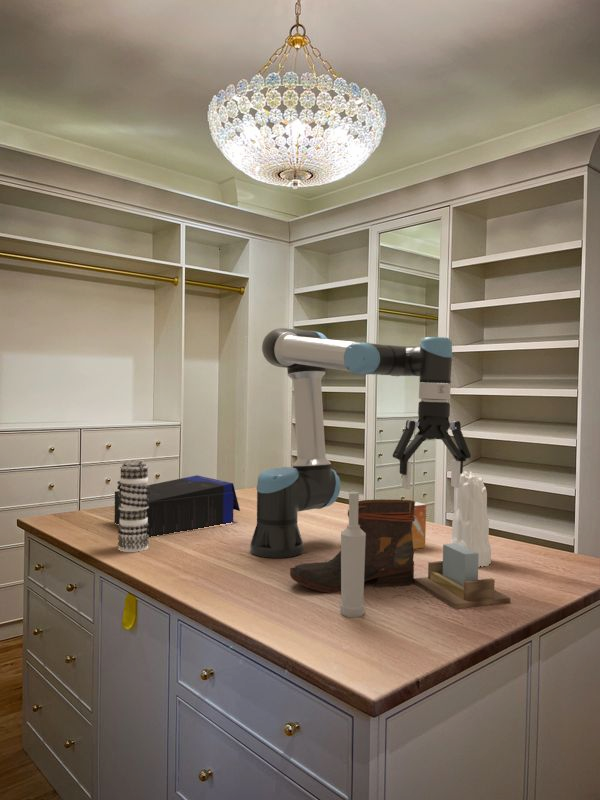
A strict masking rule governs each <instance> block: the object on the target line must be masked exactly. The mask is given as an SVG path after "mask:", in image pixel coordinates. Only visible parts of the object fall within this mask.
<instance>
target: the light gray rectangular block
mask: <svg viewBox="0 0 600 800" xmlns="http://www.w3.org/2000/svg"><path fill="white" fill-rule="evenodd" d="M442 550H443V551H442V561H443V576H444V577H446V578H448V579H450V580H452V581H454V582H455V583H457V584H459V585H461V586H463V587H464V581H471V580H479V567H478V553H477V552H474V551H472V550H470V549H468V548H465V547H463V546H461V545H459V544H456V543H455V544H450V543H447V544H446V543H445V544H444V543H443V546H442Z"/></svg>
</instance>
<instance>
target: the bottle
mask: <svg viewBox="0 0 600 800" xmlns="http://www.w3.org/2000/svg"><path fill="white" fill-rule="evenodd" d="M359 501H360V492H357V491H349V492H348V502H349V503H348V510H349V517H348V524H347V525H346V527H345V529H343V530H342V531H341V532H340V546H341V547H340V551H341V592H340V595H341V597H340V598H341V599H340V602H339V610H340V611H339V612H340V614H341V615H342V616H345V617H348V618H359V617H362V616H364V614H365V607H366V606H365V602H364V593H365V582H364V569H365V540H366V533H365V532H364V531H363V530H362V529H361V528H360V525H358V502H359Z"/></svg>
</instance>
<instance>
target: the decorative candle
mask: <svg viewBox="0 0 600 800" xmlns="http://www.w3.org/2000/svg"><path fill="white" fill-rule="evenodd" d="M119 468H120V477H119V481H117V484H118V485H117V490H118V491H120V492H119V493H118V496H119V498H118V502H119V503H121V504H120V505H119V509H120V524H119V525H117V528H119V529H118V531H117V533H118V534H119V535H118V537H117V540H118V543H117V546H118V551H119V550H120V552H122V551H123V553H138V551H139V552H143V550H144V551H146V550H148V549H149V542H150V540H149V539H150V538H149V535H148V534H147V532H149V529H148V528H147V527H148V526H149V523H148V517H147V508H149V504H148V503H147V502H148V501H149V500H150V499H149V498H148V497H147V494H150V492H149V491H147V489H150V486H147V485H148V483H149V477H148V468H149V465H147V464H146V462H145V461H144V460H129V461H125V462H124V463H122V465H121V466H119Z"/></svg>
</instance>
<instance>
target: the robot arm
mask: <svg viewBox="0 0 600 800" xmlns="http://www.w3.org/2000/svg"><path fill="white" fill-rule="evenodd" d="M261 351H262V355H263V357H264V359H265V360H266V362H268V363H269V364H270V365H273V366H275V367H279V368H284V369H285V368H286V369H287V370H286V371H287V376H288V377H289V378H290V379H291V381H292V386H293V403H294V404H293V405H294V422H295V439H296V441H295V442H296V458H297V459H296V460H295V461H294V463H293V464H292V467H291V466H290V467H289V466H283V467H282V466H281V467H274V468H269V469H265V470H263V471H261V472H260V473H259V474H258V476H257V483H256V484H257V485H256V492H257V493H256V526H255V528H254V532H253V535H252V538H251V541H250V550H249V552H250V553H251V554H253V555H255V556H256V557H261V558H272V559H279V558H280V559H283V558H292V557H295V556H299V555H301V554H302V553H304V542H303V538H302V535H301V531H300V529H299V526H298V513H300V512H304V511H311V510H320V509H323V508H327V507H329V506H332V505H333V504H334V503H335V502H336V501H337V500H338V498H339V495H340V491H341V479H340V477H339V475H337V474H338V473H337V472H336V470H334V469H332V462H330V460H329V459H328V458H327V456H326V443H325V442H326V440H325V427H324V425H325V424H324V409H323V406H324V405H323V390H322V378H323V377H324V376H325V375H326V369H330V370H337V371H344V372H350V373H352V374H357V375H362V376H363V375H372V376H374V375H378V376H379V375H380V376H391V377H401V376H402V377H419V382H418V383H419V385H418V399H420V401H419V402H418V404H417V405H418V410H417V411H418V412H417V415H418V419H417V421H415V420H410V419H407V420H406V422H405V427H404V428H405V429H404V430H403V433H402V435H401V437H400V439H399V441H398V443H397V444H396V447H395V449H394V451H393V453H392V457H393V458H394V459H397V460H399V474H400V475H402V477H401V478H402V479H401V488H403V489H406V490H411V474H412V473H411V471H412V462H411V461H410V459H411V458H412V456H413V455H414V453H415V452H417V450H418V448H420V446H421V445H422V443H423V442H425V441H426V440H441V441H442V442H443V444H444V445H445V446H446V448H447V449H448V451H449V452H450V453H451V455H452V457H453V458H454V459H451V474H450V475H451V476H450V487H453V488H454V487H456V488H459V486H460V474H462V473H463V472H464V462H466V460H467V459H470V458H471V452H470V450H469V447H468V445H467V441H466V439H465V437H464V435H463V433H462V428H461V427H462V425H461V422H460V421H458V420H451V421H449V418H450V415H451V413H450V412H451V404H450V402H449V401H450V400H451V390H452V389H451V386H452V384H451V381H452V380H451V379H452V365H453V364H452V363H453V357H454V356H453V343H452V339H451V338H448V337H445V336H444V337H441V336H440V337H439V336H426V337H422V338H421V341H420V345H418V346H403V345H392V344H379V343H372V342H370V343H369V342H366V341H365V342H363V341H362V342H361V341H359V342H358V341H350V340H342V339H341V340H339V339H330V338H328V337H327V336H326V335H325V334H323V333H322V332H319V331H316V330H315V331H314V330H310V329H309V330H306V329H294V328H293V329H292V328H285V327H284V328H283V327H282V328H281V327H280V328H275V329H273V330H271V331H270V332H268V333H267V334H266V336H264V338H263V340H262V344H261ZM417 429H418V432H416V434H415V435H414V438H412V437H413V434H414V433H415V431H416V430H417ZM449 429H450V430H451V432H452V436H453V439H454V441H453V440H452V436H451V435H450V434H449V432H448V430H449ZM411 439H412V440H411ZM455 443H456V444H455Z"/></svg>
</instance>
